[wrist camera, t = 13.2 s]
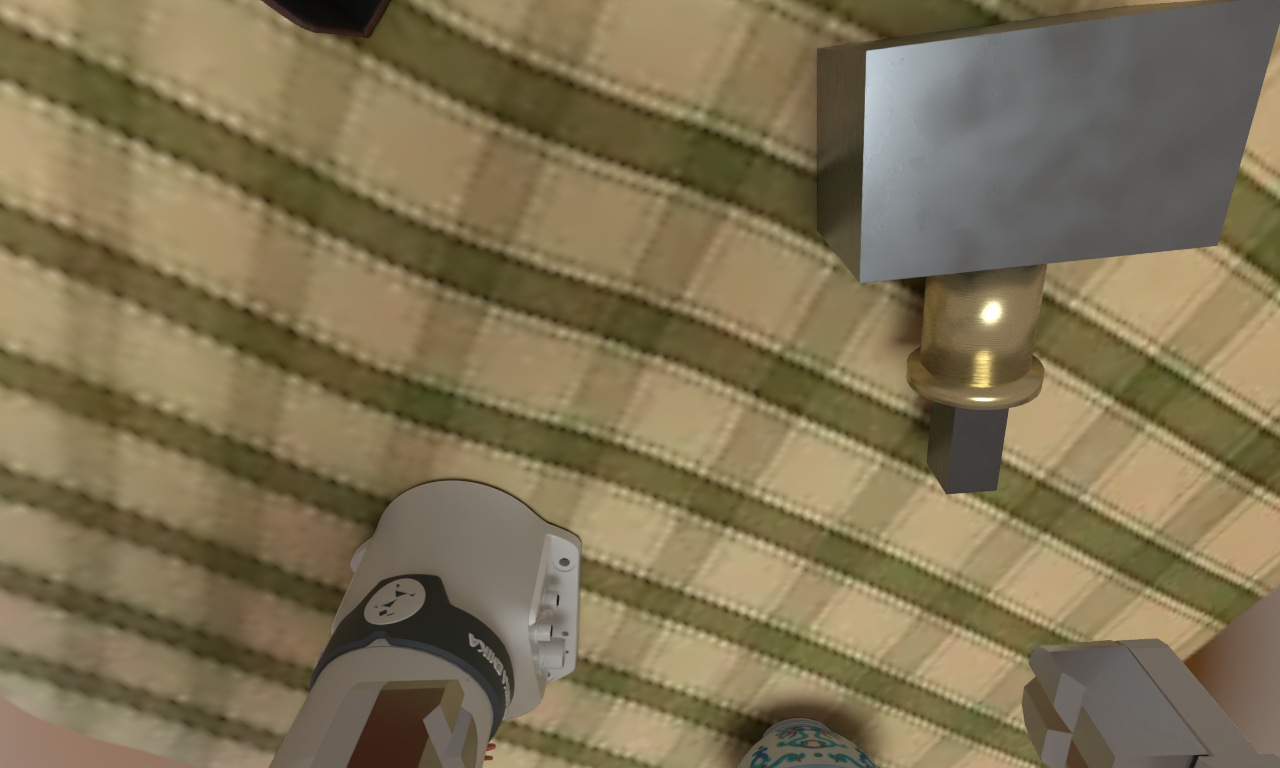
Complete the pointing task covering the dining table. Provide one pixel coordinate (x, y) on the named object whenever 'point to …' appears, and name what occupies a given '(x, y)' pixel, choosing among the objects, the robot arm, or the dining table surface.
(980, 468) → the brass flanged shaft
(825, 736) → the chinaware
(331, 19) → the letter holder
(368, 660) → the robot arm
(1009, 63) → the housing
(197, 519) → the dining table surface
